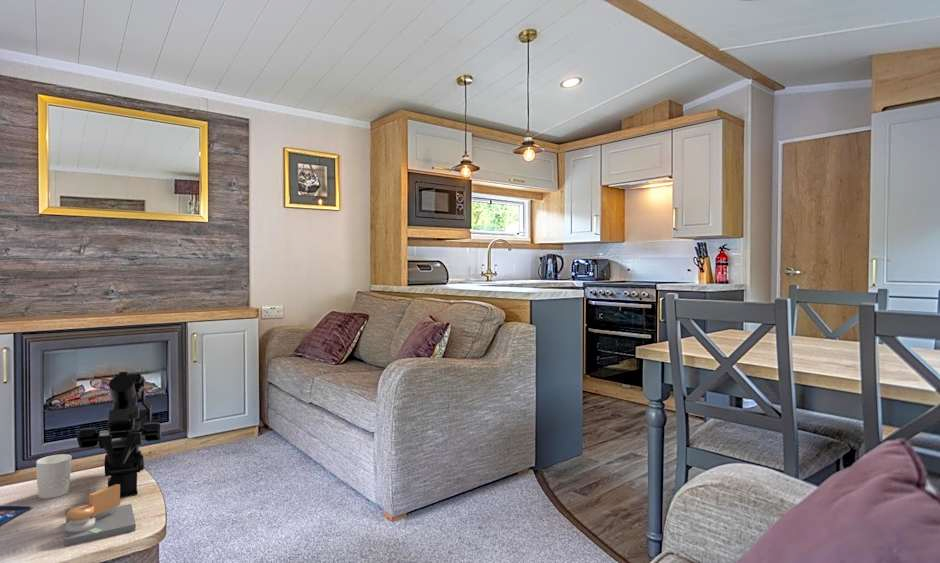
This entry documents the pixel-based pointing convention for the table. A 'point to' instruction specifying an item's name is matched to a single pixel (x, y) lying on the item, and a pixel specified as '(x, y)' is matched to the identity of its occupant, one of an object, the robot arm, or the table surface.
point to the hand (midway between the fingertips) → (116, 463)
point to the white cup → (53, 475)
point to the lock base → (100, 525)
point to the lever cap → (97, 503)
